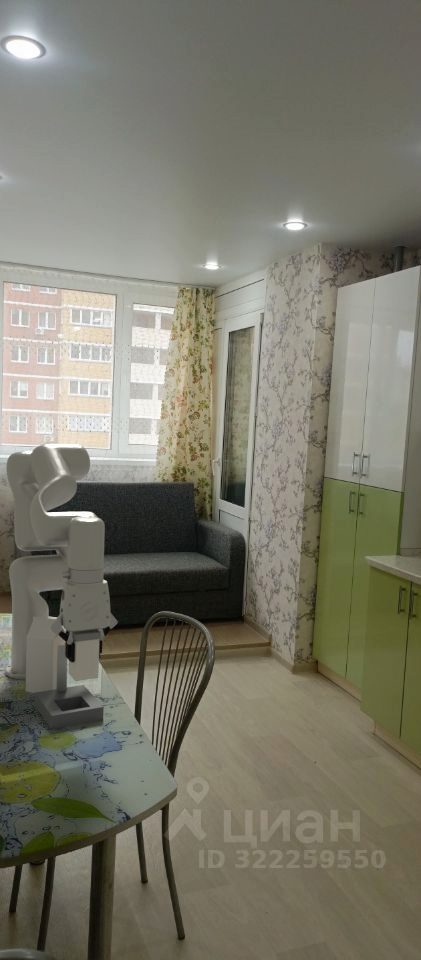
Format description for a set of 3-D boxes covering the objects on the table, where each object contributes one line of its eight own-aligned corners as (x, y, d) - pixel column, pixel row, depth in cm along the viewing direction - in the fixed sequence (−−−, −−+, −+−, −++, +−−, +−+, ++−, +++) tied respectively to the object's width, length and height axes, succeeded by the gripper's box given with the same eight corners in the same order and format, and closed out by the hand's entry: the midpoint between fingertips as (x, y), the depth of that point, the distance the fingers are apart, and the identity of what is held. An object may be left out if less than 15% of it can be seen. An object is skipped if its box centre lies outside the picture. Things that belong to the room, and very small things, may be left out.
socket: (34, 708, 168) (34, 692, 168) (83, 700, 174) (83, 684, 173) (51, 733, 156) (51, 715, 155) (103, 723, 162) (103, 706, 161)
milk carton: (52, 699, 174) (53, 623, 172) (25, 695, 175) (26, 620, 174) (63, 688, 181) (65, 615, 179) (37, 685, 182) (39, 613, 181)
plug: (67, 673, 153) (68, 627, 152) (91, 669, 156) (92, 625, 155) (75, 681, 148) (76, 635, 147) (99, 677, 151) (100, 632, 150)
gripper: (51, 582, 143) (49, 670, 144) (129, 576, 151) (127, 659, 152) (41, 574, 149) (39, 658, 151) (116, 568, 157) (114, 648, 159)
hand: (83, 657), depth 152 cm, fingers closed on plug, 5 cm apart
